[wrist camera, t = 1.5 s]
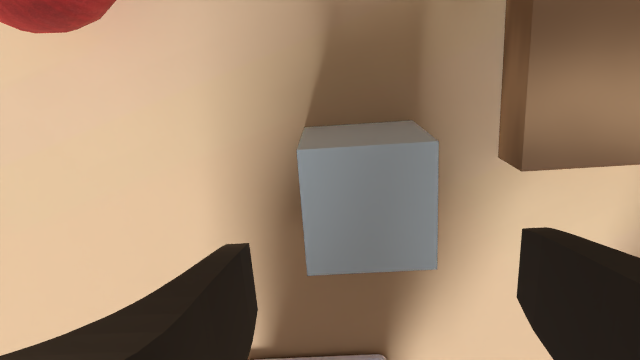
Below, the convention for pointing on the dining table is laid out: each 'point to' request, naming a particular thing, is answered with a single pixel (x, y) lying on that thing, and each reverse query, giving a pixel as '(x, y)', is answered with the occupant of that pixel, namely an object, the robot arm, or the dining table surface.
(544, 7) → the base
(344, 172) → the cube
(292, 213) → the dining table surface
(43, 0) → the onion
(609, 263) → the robot arm
